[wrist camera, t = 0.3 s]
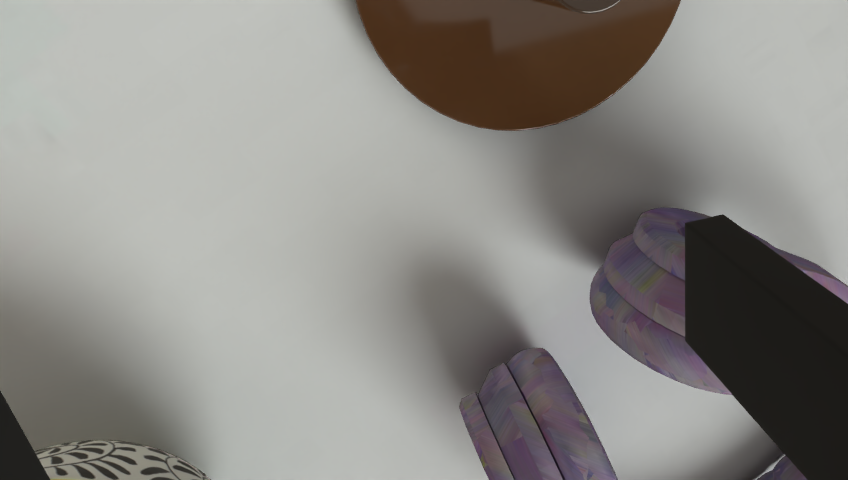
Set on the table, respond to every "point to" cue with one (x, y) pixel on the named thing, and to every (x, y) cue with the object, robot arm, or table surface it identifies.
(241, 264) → the table surface
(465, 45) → the jar lid
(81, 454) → the bowl
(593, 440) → the headphones
